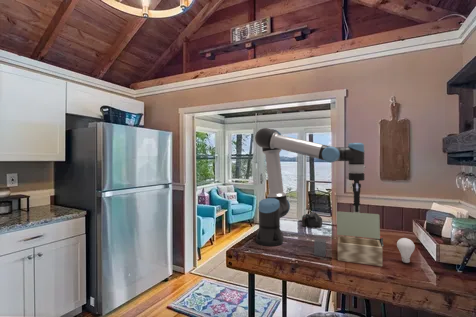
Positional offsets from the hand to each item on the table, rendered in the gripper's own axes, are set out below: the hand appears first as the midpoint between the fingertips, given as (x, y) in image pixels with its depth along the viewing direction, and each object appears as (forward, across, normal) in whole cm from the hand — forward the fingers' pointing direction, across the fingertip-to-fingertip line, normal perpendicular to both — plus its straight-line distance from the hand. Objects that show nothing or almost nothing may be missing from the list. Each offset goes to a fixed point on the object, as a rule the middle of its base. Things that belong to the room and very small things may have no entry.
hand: (356, 217), depth 132 cm
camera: (+16, +31, +26) cm, 43 cm away
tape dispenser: (+16, +5, -3) cm, 17 cm away
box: (+15, -16, 0) cm, 22 cm away
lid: (+1, -10, 0) cm, 10 cm away
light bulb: (+16, -14, -19) cm, 28 cm away
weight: (+16, -17, +17) cm, 28 cm away
